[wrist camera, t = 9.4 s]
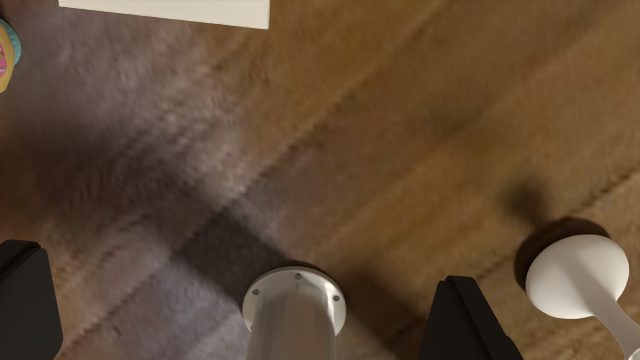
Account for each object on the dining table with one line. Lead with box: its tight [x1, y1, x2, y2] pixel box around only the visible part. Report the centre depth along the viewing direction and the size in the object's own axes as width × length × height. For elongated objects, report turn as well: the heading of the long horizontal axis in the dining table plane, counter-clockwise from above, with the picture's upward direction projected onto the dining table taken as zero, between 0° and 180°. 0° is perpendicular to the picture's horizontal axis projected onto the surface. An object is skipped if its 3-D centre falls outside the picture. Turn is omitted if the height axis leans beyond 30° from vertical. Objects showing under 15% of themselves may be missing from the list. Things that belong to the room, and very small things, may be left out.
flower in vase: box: [526, 235, 640, 360], centre depth 38 cm, size 13×11×25 cm
